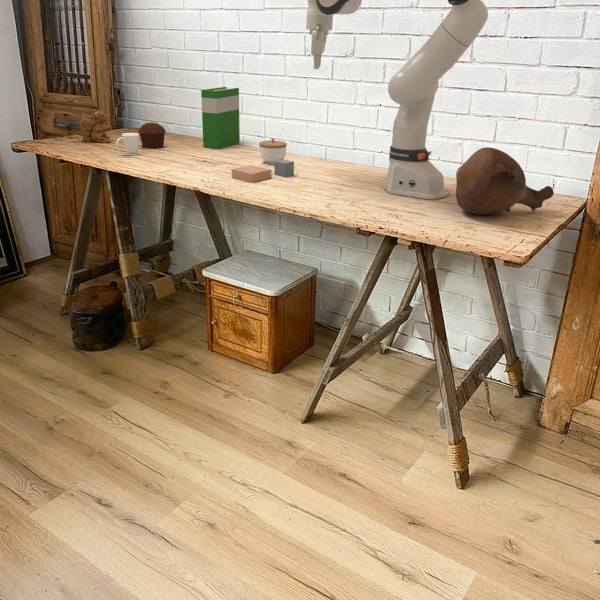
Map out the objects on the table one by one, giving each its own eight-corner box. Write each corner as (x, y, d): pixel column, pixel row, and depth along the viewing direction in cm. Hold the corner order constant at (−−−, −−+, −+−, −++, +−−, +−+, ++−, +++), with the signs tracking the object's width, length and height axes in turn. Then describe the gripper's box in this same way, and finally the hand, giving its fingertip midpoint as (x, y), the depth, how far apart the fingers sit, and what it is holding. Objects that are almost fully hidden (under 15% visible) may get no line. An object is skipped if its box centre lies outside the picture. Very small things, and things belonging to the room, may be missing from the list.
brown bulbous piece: (451, 221, 179) (546, 238, 184) (476, 158, 168) (577, 178, 173) (436, 190, 196) (524, 206, 200) (458, 130, 185) (550, 149, 189)
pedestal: (271, 177, 223) (271, 169, 221) (252, 182, 216) (252, 174, 214) (251, 173, 228) (251, 165, 227) (231, 177, 221) (231, 169, 220)
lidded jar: (261, 165, 241) (261, 141, 237) (257, 160, 250) (257, 136, 246) (288, 165, 243) (289, 140, 239) (283, 159, 252) (283, 136, 249)
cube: (293, 175, 228) (294, 161, 226) (284, 177, 225) (285, 163, 222) (283, 172, 231) (283, 159, 229) (274, 175, 227) (274, 161, 225)
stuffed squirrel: (112, 143, 275) (109, 112, 270) (79, 143, 273) (75, 112, 267) (113, 139, 284) (110, 109, 279) (81, 139, 281) (77, 109, 276)
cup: (144, 154, 254) (142, 134, 251) (122, 157, 248) (120, 137, 245) (135, 152, 259) (133, 132, 256) (113, 154, 253) (111, 134, 249)
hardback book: (226, 141, 286) (224, 86, 276) (239, 143, 283) (238, 87, 273) (203, 147, 272) (201, 89, 262) (217, 149, 268) (215, 91, 259)
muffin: (134, 148, 266) (132, 124, 262) (146, 143, 276) (144, 120, 272) (160, 150, 264) (158, 125, 260) (171, 145, 274) (169, 122, 270)
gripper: (327, 25, 199) (324, 70, 205) (329, 24, 217) (327, 66, 223) (307, 24, 199) (305, 69, 205) (311, 23, 218) (309, 65, 224)
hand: (317, 67), depth 214 cm, fingers open, 8 cm apart
